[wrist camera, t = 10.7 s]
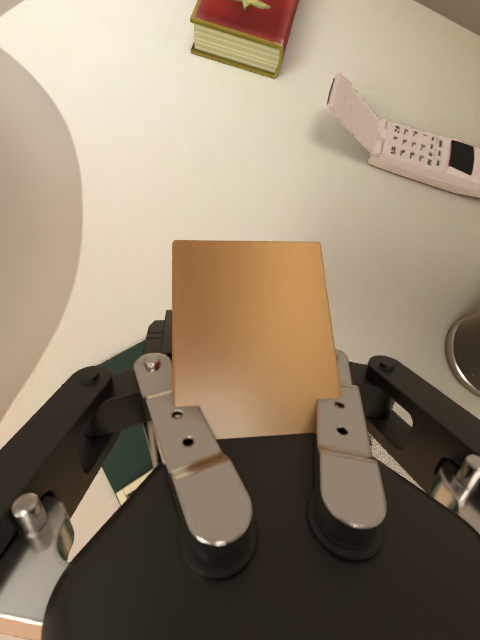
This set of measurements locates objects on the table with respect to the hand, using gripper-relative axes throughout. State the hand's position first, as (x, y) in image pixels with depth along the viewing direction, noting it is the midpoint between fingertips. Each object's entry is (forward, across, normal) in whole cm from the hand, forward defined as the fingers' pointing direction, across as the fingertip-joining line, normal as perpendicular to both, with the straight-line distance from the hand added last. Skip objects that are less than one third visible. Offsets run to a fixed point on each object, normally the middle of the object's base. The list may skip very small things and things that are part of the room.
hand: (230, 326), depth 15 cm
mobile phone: (+31, -26, -6) cm, 41 cm away
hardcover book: (+48, -7, -24) cm, 54 cm away
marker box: (+2, 0, +4) cm, 5 cm away
